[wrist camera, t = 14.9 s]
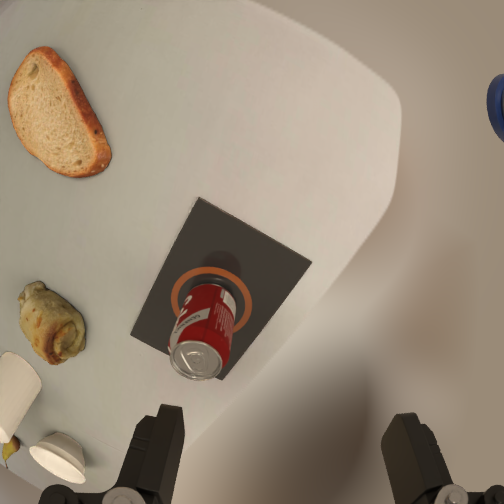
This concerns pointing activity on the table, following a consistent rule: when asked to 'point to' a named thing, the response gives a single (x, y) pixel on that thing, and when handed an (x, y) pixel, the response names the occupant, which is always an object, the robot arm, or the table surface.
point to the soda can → (203, 333)
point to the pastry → (50, 324)
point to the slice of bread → (56, 116)
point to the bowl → (61, 457)
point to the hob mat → (221, 277)
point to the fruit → (10, 448)
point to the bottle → (15, 392)
